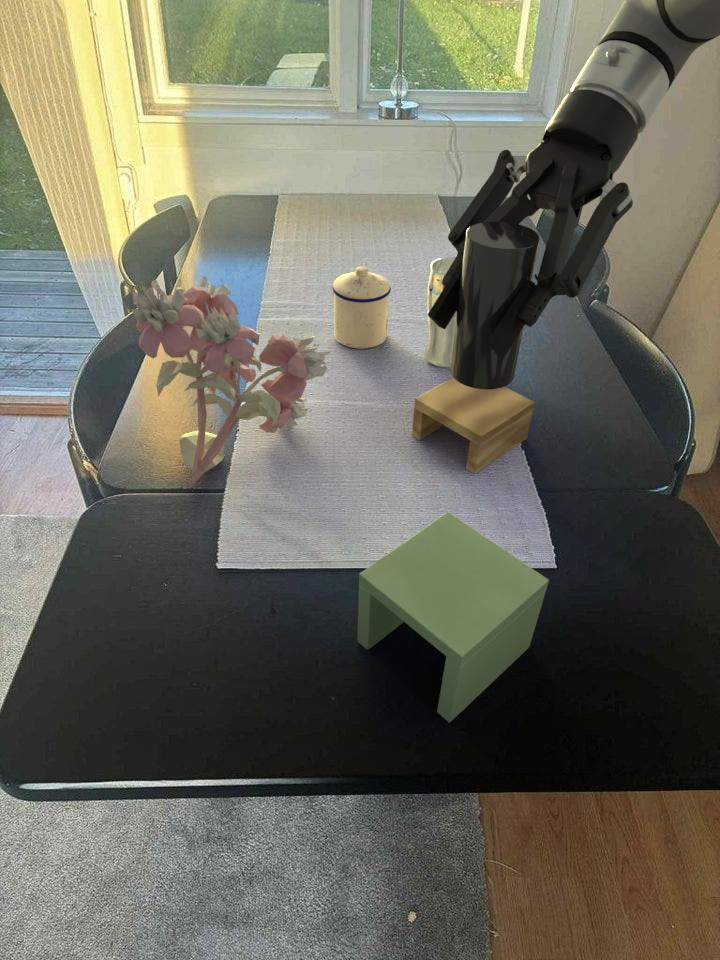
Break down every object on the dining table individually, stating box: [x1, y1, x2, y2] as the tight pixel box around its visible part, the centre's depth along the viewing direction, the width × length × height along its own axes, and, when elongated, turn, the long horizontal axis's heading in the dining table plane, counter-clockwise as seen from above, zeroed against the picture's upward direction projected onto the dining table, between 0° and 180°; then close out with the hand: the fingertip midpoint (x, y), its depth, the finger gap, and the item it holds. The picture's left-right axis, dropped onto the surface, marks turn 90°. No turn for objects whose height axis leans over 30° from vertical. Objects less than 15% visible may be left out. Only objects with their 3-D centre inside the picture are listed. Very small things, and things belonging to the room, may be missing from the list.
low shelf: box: [411, 377, 535, 475], centre depth 92 cm, size 11×11×6 cm
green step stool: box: [357, 511, 550, 724], centre depth 66 cm, size 12×12×10 cm
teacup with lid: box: [332, 265, 392, 350], centre depth 112 cm, size 12×9×12 cm
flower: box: [131, 275, 332, 487], centre depth 86 cm, size 20×22×25 cm
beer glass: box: [424, 256, 457, 368], centre depth 105 cm, size 7×7×15 cm
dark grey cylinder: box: [449, 222, 541, 390], centre depth 66 cm, size 6×6×14 cm
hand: (465, 335), depth 65 cm, fingers closed on dark grey cylinder, 6 cm apart
